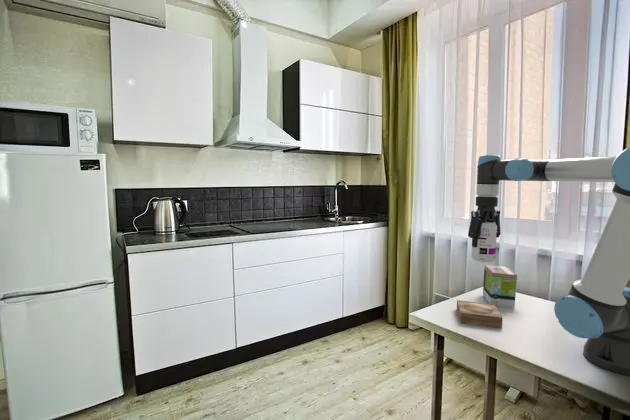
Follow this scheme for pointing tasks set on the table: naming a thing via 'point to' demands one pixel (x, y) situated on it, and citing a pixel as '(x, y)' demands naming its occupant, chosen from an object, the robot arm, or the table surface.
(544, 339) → the table surface
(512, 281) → the tea box
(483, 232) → the supplement can
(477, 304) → the walnut base
